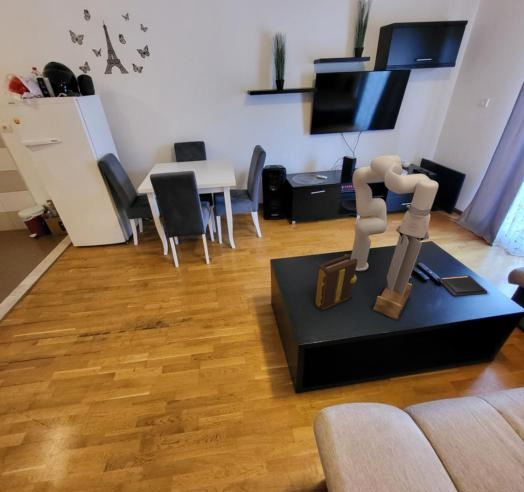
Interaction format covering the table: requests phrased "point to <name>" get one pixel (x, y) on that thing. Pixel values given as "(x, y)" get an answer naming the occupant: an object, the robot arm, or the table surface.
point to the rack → (392, 302)
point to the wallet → (462, 286)
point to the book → (335, 281)
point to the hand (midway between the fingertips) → (407, 246)
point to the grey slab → (403, 263)
